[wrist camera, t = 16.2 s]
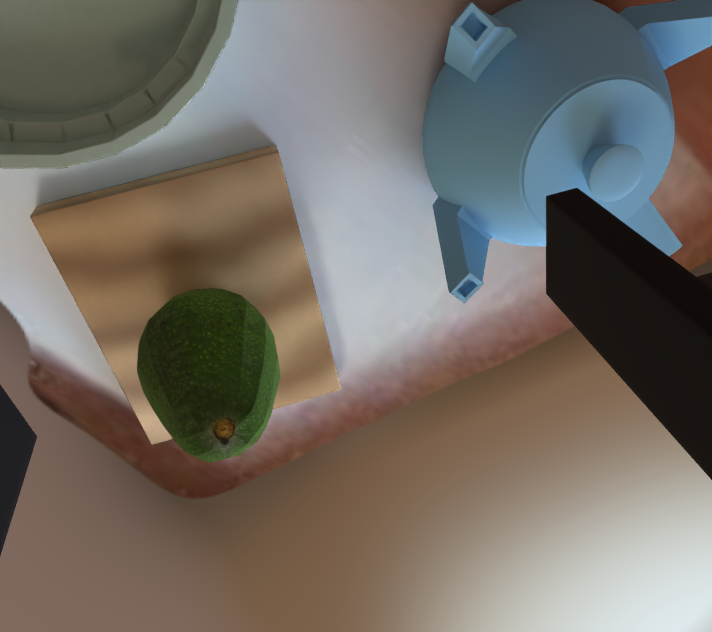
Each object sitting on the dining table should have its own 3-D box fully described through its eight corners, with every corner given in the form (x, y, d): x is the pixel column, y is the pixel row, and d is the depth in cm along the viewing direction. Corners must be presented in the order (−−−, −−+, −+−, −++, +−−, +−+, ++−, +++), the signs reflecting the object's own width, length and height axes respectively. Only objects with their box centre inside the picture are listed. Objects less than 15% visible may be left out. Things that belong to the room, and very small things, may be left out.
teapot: (396, 242, 41) (451, 330, 32) (401, -13, 33) (476, 10, 24) (604, 219, 44) (708, 294, 35) (656, -23, 35) (810, -6, 27)
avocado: (293, 325, 41) (324, 452, 31) (197, 385, 42) (197, 528, 32) (219, 235, 36) (228, 350, 26) (113, 305, 37) (83, 442, 27)
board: (35, 206, 35) (29, 216, 33) (275, 144, 36) (278, 152, 34) (153, 430, 45) (151, 445, 43) (337, 377, 46) (341, 389, 45)
